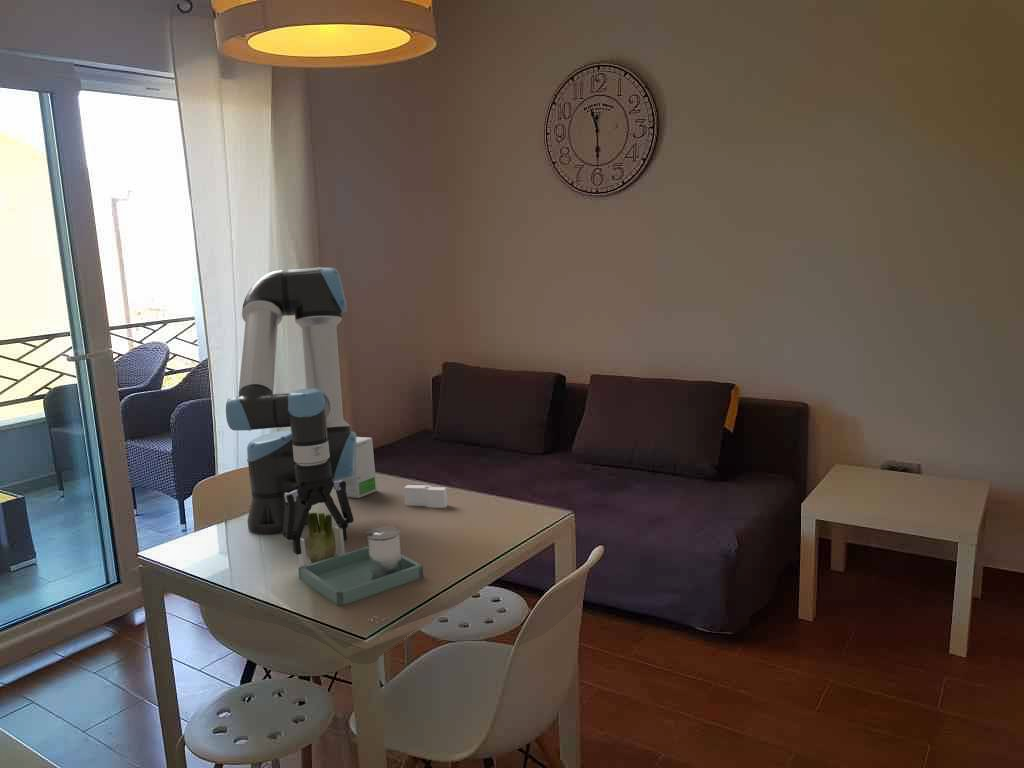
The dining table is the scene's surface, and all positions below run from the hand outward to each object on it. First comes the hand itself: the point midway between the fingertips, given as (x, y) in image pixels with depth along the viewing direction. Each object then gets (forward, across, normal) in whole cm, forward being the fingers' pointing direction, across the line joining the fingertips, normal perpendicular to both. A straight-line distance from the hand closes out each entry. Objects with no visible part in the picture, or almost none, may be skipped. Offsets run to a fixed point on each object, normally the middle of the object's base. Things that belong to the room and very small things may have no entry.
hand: (322, 561), depth 180 cm
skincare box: (+1, +31, +41) cm, 51 cm away
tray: (+1, +2, -15) cm, 15 cm away
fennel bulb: (+1, 0, 0) cm, 1 cm away
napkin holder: (+2, +38, +17) cm, 42 cm away
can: (0, +5, -20) cm, 20 cm away
